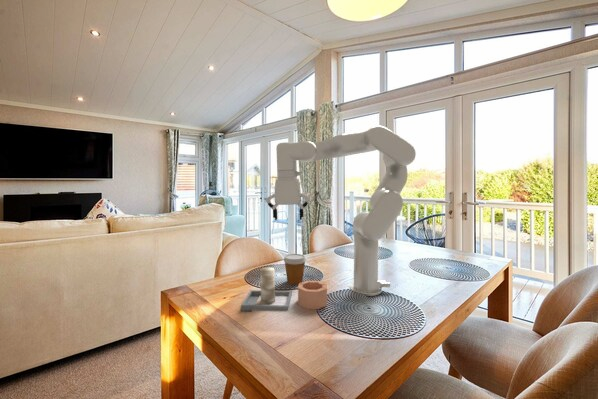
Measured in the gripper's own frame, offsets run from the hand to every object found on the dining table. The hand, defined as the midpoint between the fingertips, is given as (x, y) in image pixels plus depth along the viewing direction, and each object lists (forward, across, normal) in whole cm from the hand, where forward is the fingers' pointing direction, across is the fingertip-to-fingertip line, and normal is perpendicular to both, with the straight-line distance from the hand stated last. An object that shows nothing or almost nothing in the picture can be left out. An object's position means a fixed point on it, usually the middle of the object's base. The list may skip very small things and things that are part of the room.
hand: (288, 219), depth 111 cm
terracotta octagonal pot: (+29, -9, +11) cm, 33 cm away
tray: (+29, +7, +11) cm, 32 cm away
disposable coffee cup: (+29, -1, -9) cm, 31 cm away
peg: (+28, +8, +11) cm, 31 cm away
